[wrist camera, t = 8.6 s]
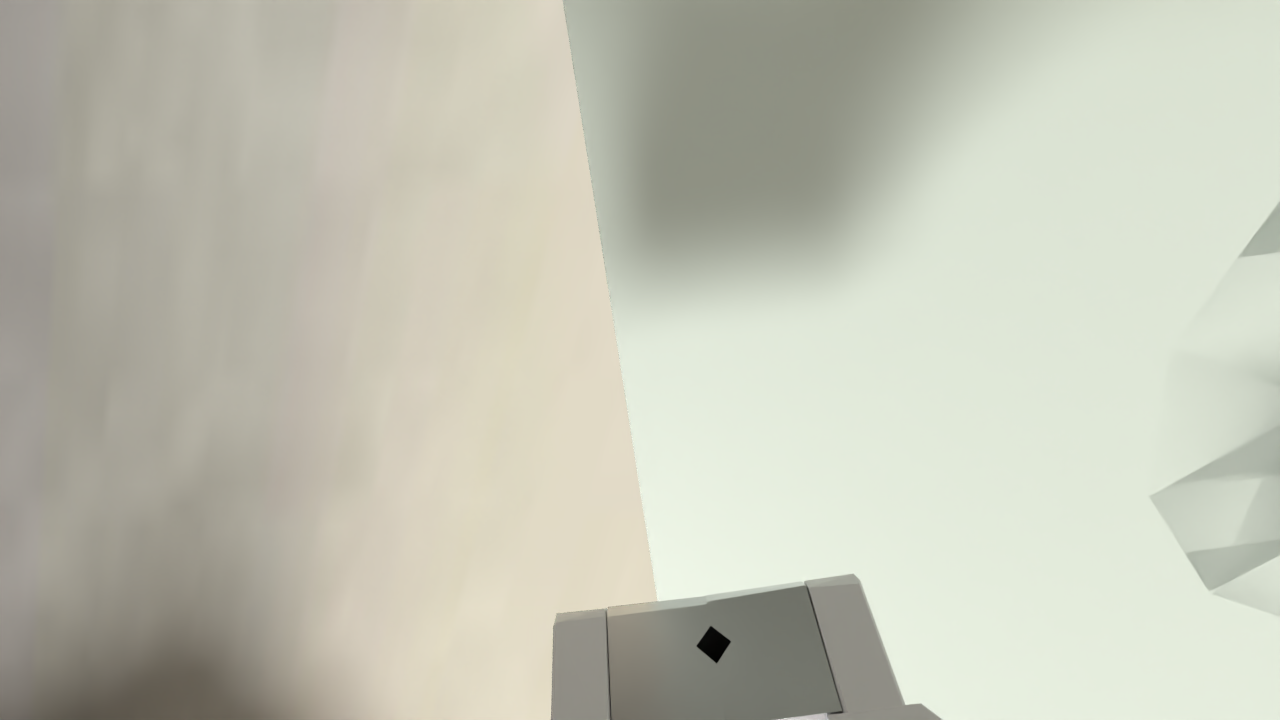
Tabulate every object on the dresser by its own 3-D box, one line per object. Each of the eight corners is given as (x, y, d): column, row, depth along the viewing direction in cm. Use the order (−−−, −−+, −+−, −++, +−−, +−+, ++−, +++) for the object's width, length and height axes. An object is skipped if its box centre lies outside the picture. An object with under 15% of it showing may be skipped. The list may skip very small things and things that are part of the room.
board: (450, -806, 9) (393, -1070, 7) (2162, -1073, 9) (2863, -1470, 6) (688, 754, 20) (705, 907, 17) (1480, 650, 20) (1629, 788, 17)
